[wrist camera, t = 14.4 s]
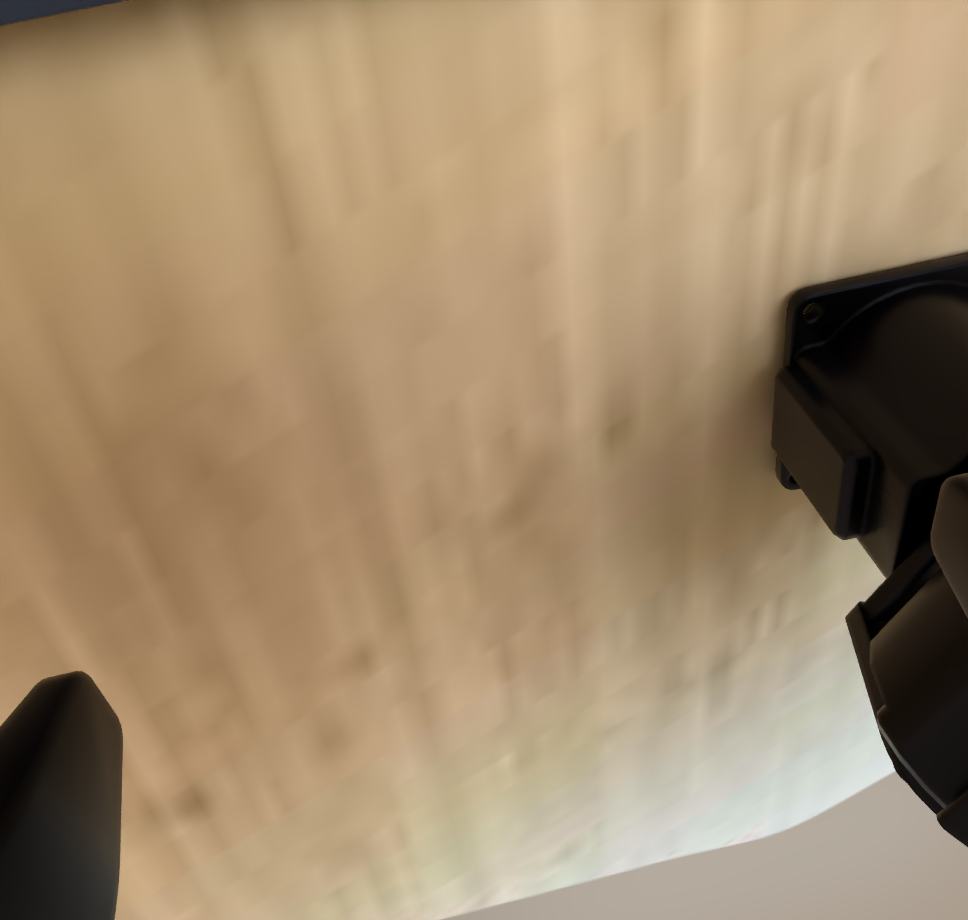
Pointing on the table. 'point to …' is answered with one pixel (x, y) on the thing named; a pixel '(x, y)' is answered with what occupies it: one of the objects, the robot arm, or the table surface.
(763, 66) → the table surface
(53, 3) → the tray
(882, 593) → the robot arm
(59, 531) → the table surface
